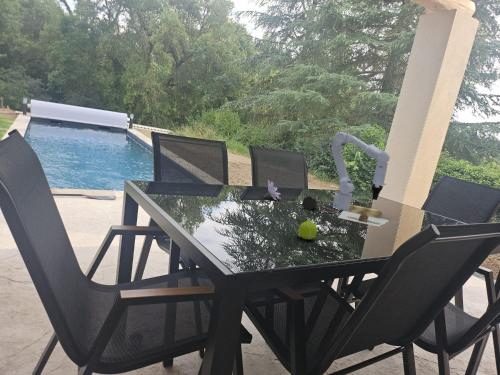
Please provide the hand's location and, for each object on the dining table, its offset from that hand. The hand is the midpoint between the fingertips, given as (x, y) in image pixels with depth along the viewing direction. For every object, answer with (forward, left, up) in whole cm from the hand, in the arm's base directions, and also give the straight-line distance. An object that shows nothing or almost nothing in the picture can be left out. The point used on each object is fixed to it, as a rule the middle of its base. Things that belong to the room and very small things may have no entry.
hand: (374, 198), depth 209 cm
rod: (-3, -19, -6) cm, 20 cm away
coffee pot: (-26, -16, -10) cm, 33 cm away
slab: (-3, -15, -10) cm, 18 cm away
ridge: (-3, -19, -9) cm, 21 cm away
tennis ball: (-20, -75, -10) cm, 78 cm away
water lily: (-54, -13, -10) cm, 56 cm away
